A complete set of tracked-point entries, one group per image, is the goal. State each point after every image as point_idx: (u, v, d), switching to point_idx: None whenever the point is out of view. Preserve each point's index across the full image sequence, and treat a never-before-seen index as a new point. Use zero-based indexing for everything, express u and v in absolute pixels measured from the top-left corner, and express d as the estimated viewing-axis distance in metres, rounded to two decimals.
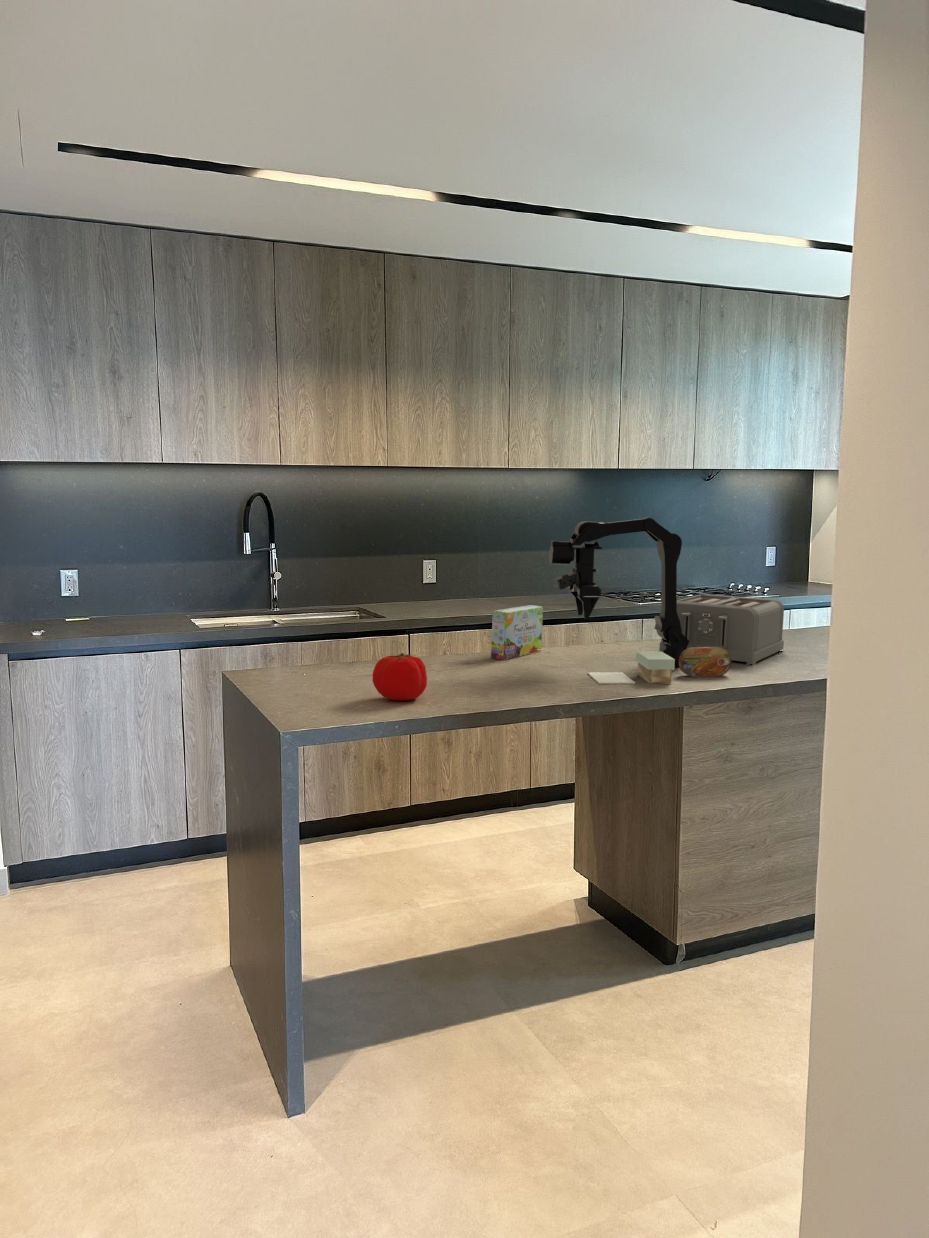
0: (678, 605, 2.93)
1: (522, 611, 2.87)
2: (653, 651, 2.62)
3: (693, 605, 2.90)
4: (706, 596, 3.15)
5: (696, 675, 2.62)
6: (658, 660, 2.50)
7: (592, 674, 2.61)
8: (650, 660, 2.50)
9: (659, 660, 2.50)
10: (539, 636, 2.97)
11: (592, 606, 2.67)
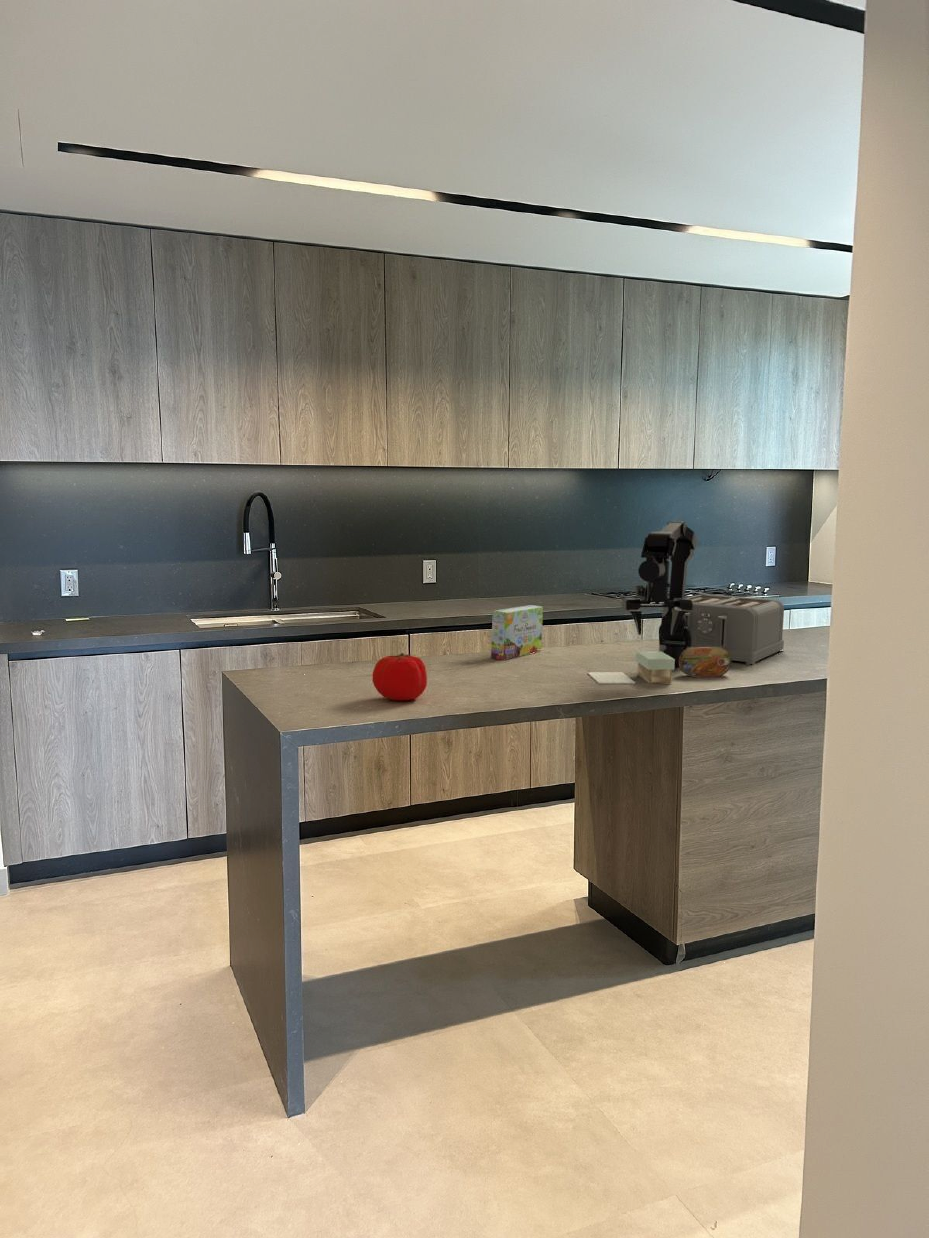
0: None
1: (522, 611, 2.87)
2: (653, 651, 2.62)
3: (693, 605, 2.90)
4: (706, 596, 3.15)
5: (696, 675, 2.62)
6: (658, 660, 2.50)
7: (592, 674, 2.61)
8: (650, 660, 2.50)
9: (659, 660, 2.50)
10: (539, 636, 2.97)
11: (636, 621, 2.53)
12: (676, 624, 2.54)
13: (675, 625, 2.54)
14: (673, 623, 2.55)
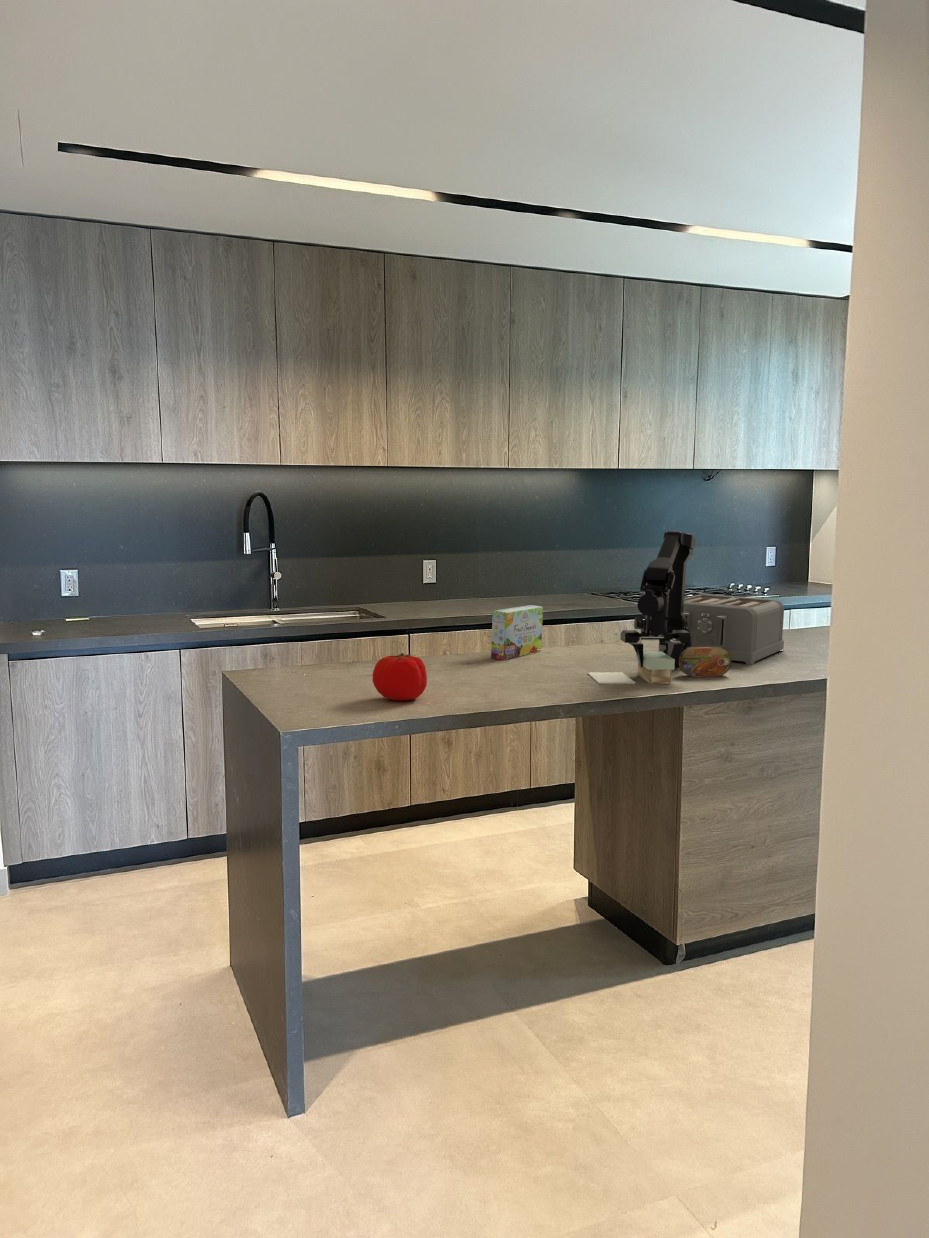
0: None
1: (522, 611, 2.87)
2: (653, 651, 2.62)
3: (692, 605, 2.91)
4: (706, 596, 3.15)
5: (696, 675, 2.62)
6: (658, 660, 2.50)
7: (592, 674, 2.61)
8: (650, 660, 2.50)
9: (659, 660, 2.50)
10: (539, 636, 2.97)
11: (638, 654, 2.54)
12: (672, 657, 2.55)
13: None
14: (669, 655, 2.56)
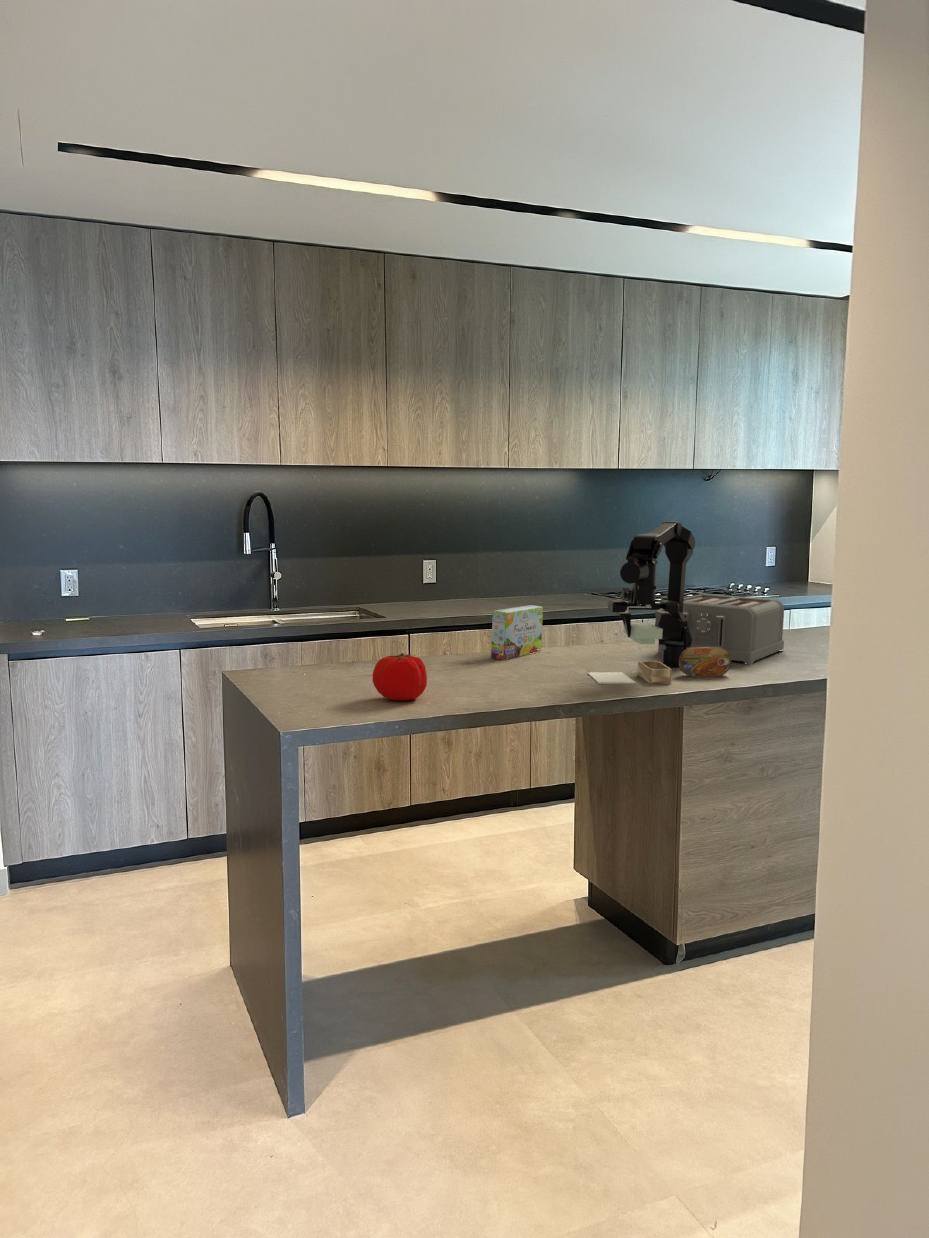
0: None
1: (522, 611, 2.87)
2: (640, 622, 2.61)
3: (691, 604, 2.91)
4: (707, 596, 3.16)
5: (696, 675, 2.62)
6: (646, 629, 2.49)
7: (592, 674, 2.61)
8: (638, 629, 2.48)
9: (647, 630, 2.49)
10: (539, 636, 2.97)
11: (625, 623, 2.53)
12: None
13: None
14: None
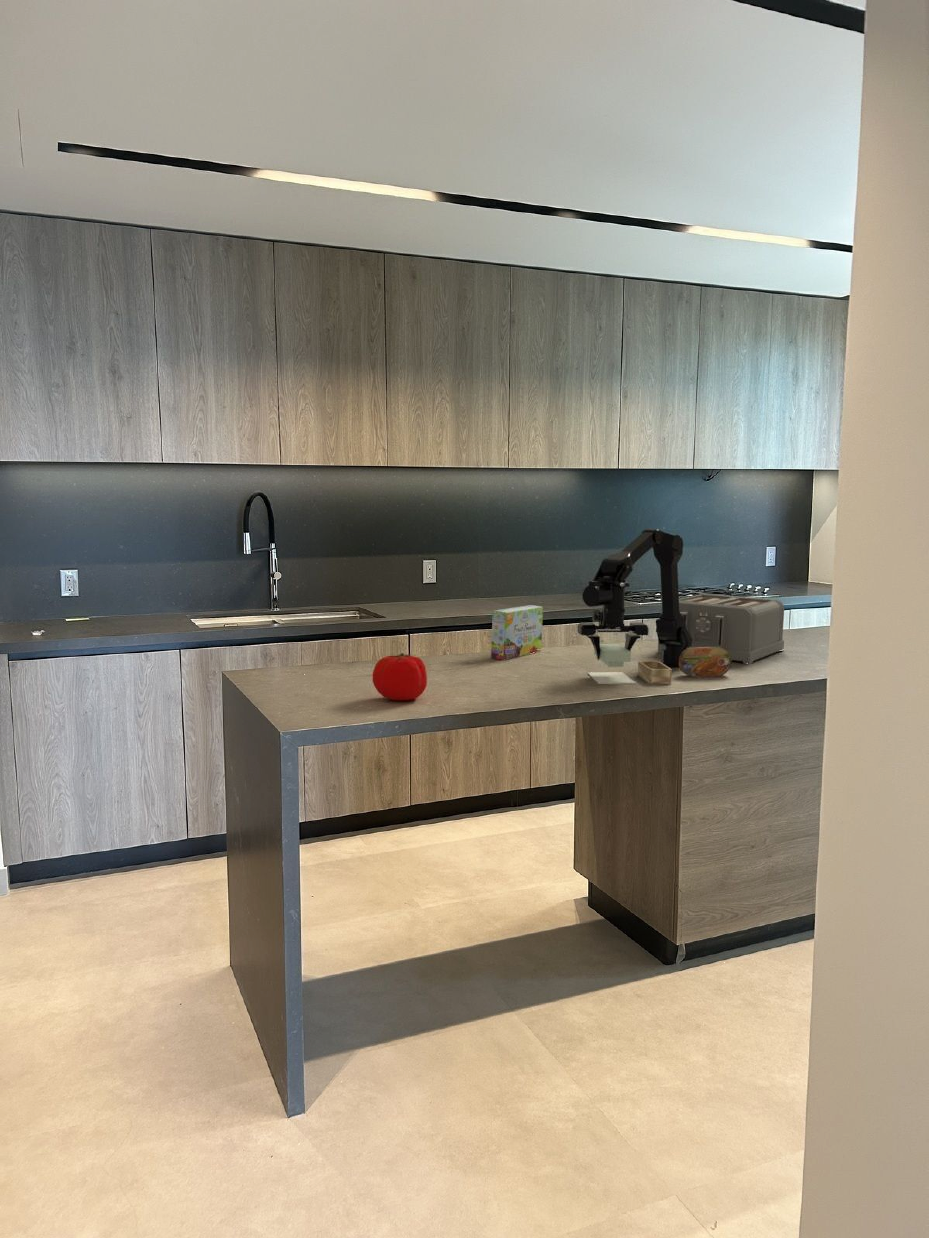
0: None
1: (522, 611, 2.87)
2: (611, 644, 2.62)
3: (691, 604, 2.92)
4: (707, 596, 3.16)
5: (696, 675, 2.62)
6: (614, 652, 2.50)
7: (592, 674, 2.61)
8: (606, 652, 2.49)
9: (615, 653, 2.50)
10: (539, 636, 2.97)
11: (595, 646, 2.54)
12: (629, 649, 2.55)
13: None
14: (626, 648, 2.56)
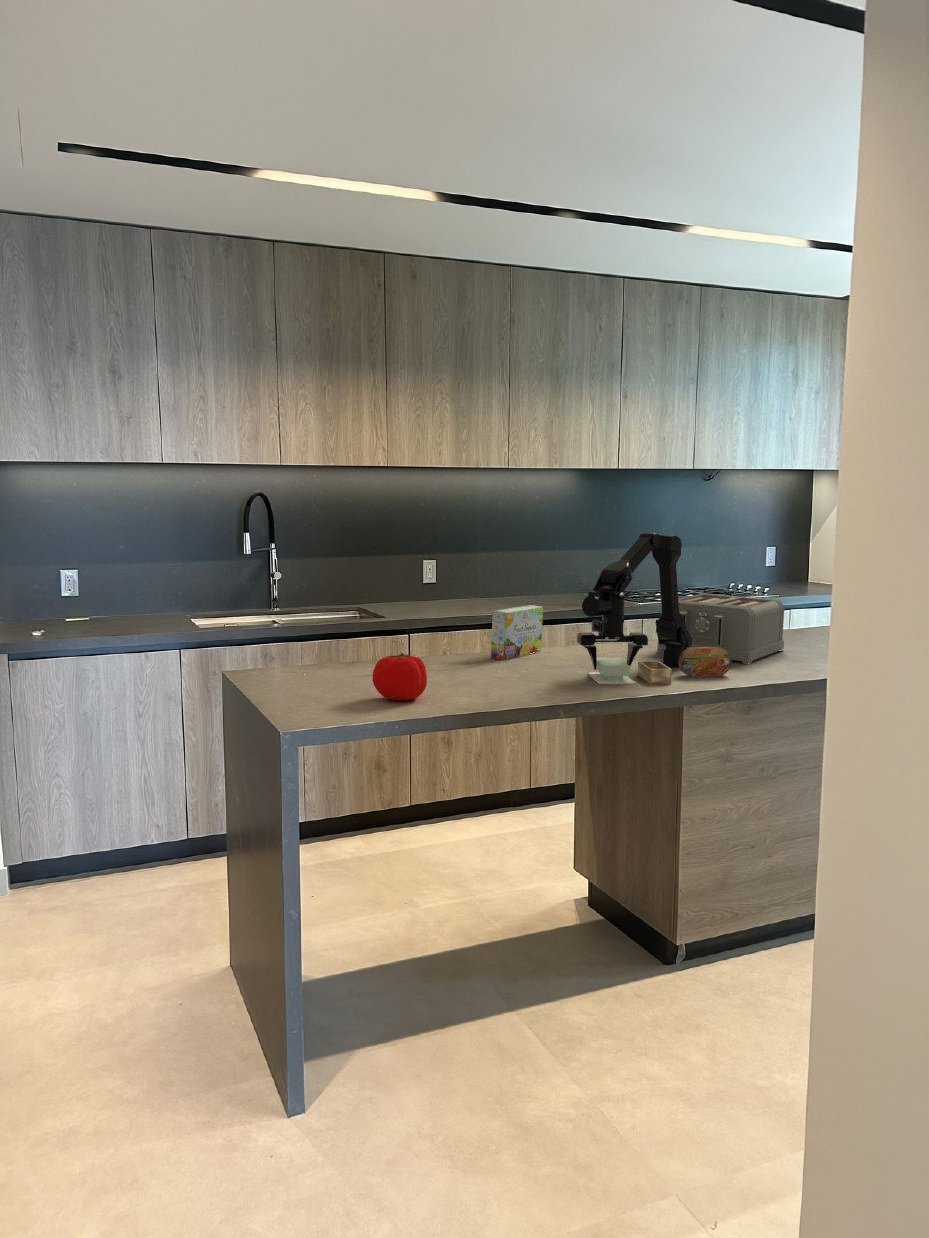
0: None
1: (522, 611, 2.87)
2: None
3: (690, 604, 2.92)
4: (707, 596, 3.16)
5: (696, 675, 2.62)
6: (613, 667, 2.50)
7: (592, 674, 2.61)
8: (605, 667, 2.50)
9: (615, 667, 2.50)
10: (539, 636, 2.97)
11: (591, 656, 2.54)
12: (631, 659, 2.55)
13: (630, 660, 2.55)
14: (628, 658, 2.56)
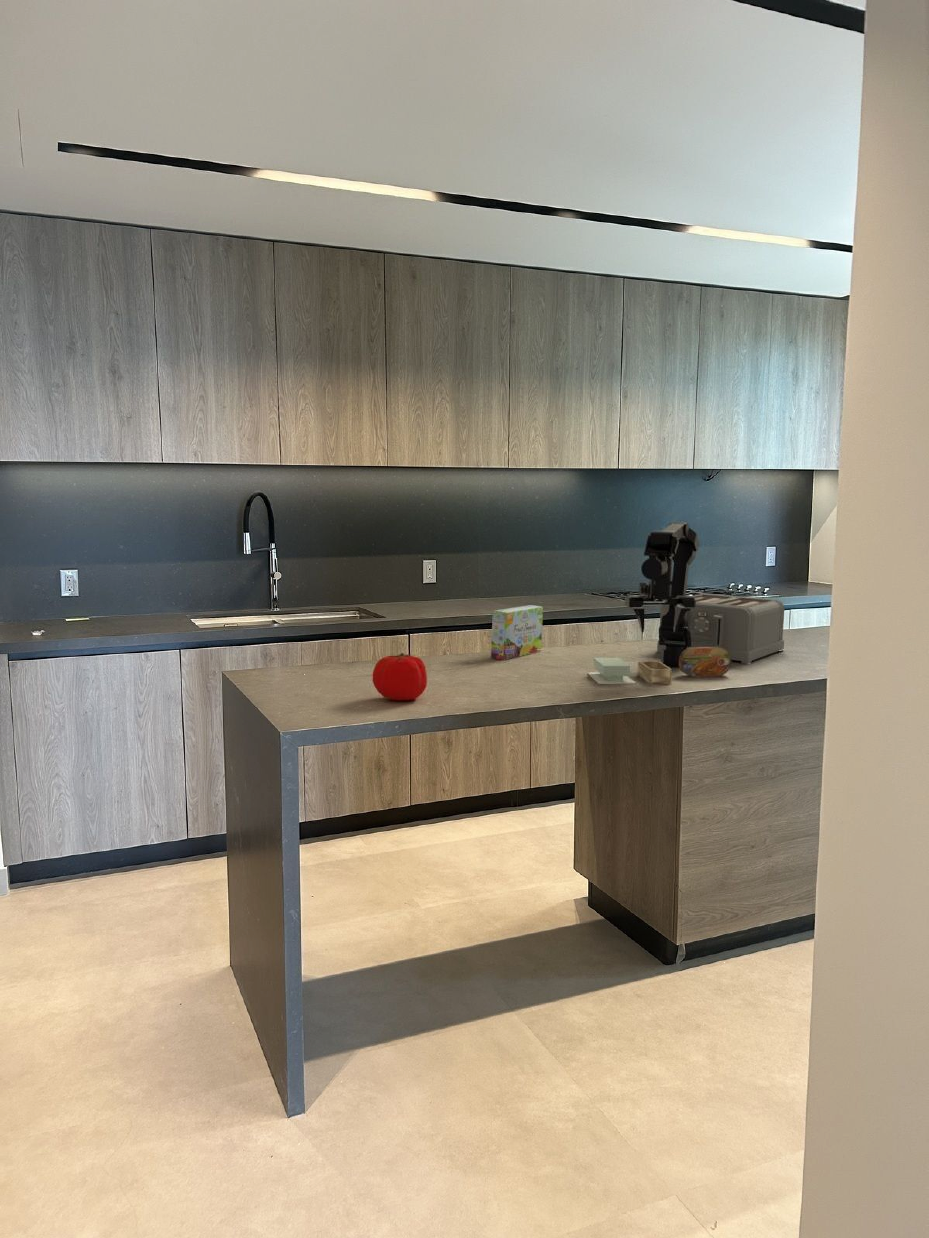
0: None
1: (522, 611, 2.87)
2: None
3: None
4: (708, 595, 3.17)
5: (696, 675, 2.62)
6: (613, 667, 2.50)
7: (592, 674, 2.61)
8: (605, 667, 2.50)
9: (615, 667, 2.50)
10: (539, 636, 2.97)
11: (639, 618, 2.56)
12: (679, 622, 2.57)
13: (678, 622, 2.57)
14: (676, 620, 2.58)
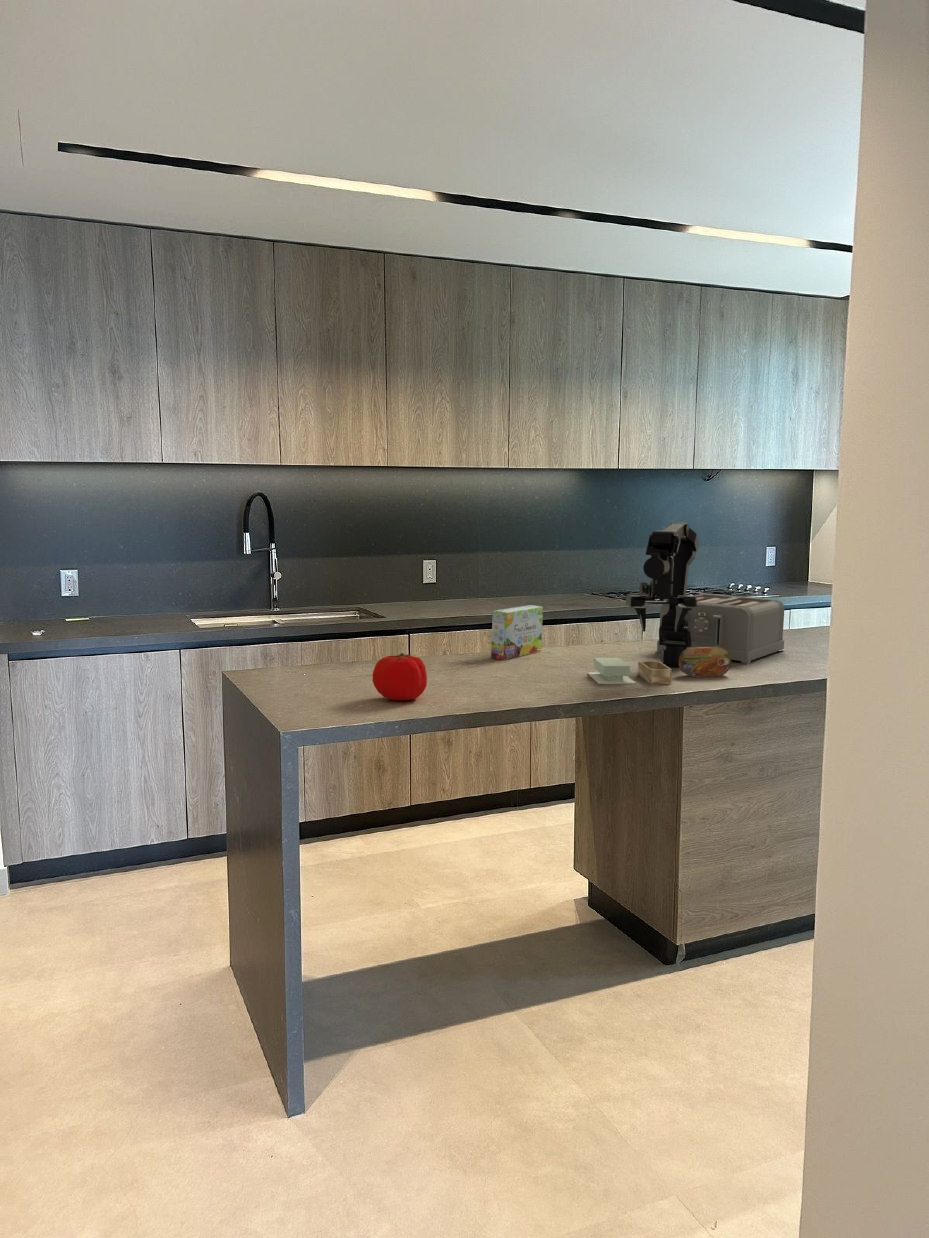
0: None
1: (522, 611, 2.87)
2: None
3: None
4: (708, 595, 3.17)
5: (696, 675, 2.62)
6: (613, 667, 2.50)
7: (592, 674, 2.61)
8: (605, 667, 2.50)
9: (615, 667, 2.50)
10: (539, 636, 2.97)
11: (641, 618, 2.56)
12: (680, 621, 2.57)
13: (679, 622, 2.57)
14: (677, 620, 2.58)
